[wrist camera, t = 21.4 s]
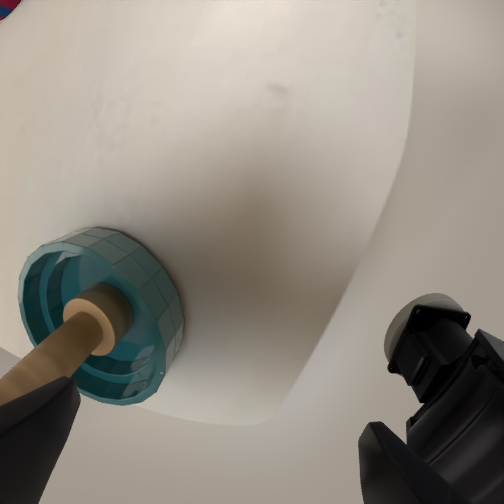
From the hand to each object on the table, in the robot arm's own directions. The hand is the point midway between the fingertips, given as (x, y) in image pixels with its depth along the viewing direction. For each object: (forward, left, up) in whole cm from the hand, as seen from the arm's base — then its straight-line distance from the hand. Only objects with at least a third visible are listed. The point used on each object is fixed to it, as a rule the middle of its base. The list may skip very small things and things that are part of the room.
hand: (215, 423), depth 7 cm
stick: (+10, +5, -12) cm, 16 cm away
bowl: (+10, +5, -12) cm, 16 cm away
